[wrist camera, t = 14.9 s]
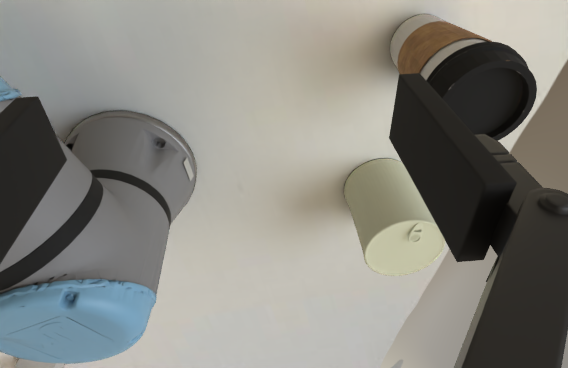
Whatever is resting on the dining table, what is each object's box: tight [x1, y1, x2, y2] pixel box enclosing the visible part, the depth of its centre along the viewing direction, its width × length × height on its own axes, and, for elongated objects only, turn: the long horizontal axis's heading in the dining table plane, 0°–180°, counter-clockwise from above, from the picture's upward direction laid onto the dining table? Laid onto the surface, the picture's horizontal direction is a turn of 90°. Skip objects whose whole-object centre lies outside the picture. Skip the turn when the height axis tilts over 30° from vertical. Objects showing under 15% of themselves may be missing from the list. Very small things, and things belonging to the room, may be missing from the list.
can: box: [344, 159, 445, 276], centre depth 48 cm, size 9×9×12 cm
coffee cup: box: [390, 14, 537, 141], centre depth 35 cm, size 8×8×15 cm
